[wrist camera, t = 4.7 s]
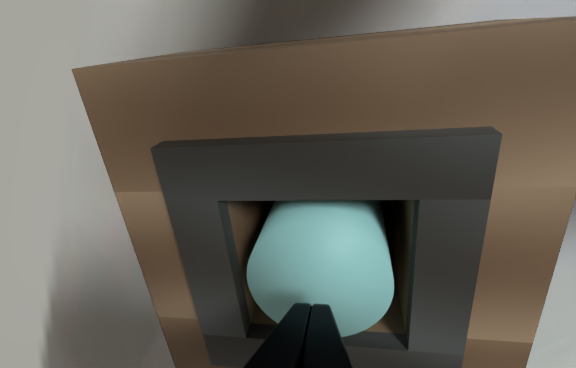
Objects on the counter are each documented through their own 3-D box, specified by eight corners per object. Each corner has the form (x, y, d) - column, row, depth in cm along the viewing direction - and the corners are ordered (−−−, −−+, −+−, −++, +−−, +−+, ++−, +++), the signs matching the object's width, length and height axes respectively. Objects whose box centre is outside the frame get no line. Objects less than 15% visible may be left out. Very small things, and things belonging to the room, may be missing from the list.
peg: (378, 231, 15) (391, 343, 9) (288, 230, 15) (256, 332, 10) (379, 144, 13) (396, 222, 8) (279, 148, 14) (235, 221, 9)
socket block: (459, 290, 16) (518, 437, 10) (229, 279, 19) (172, 395, 13) (499, 20, 11) (655, 12, 6) (180, 52, 14) (52, 71, 8)
